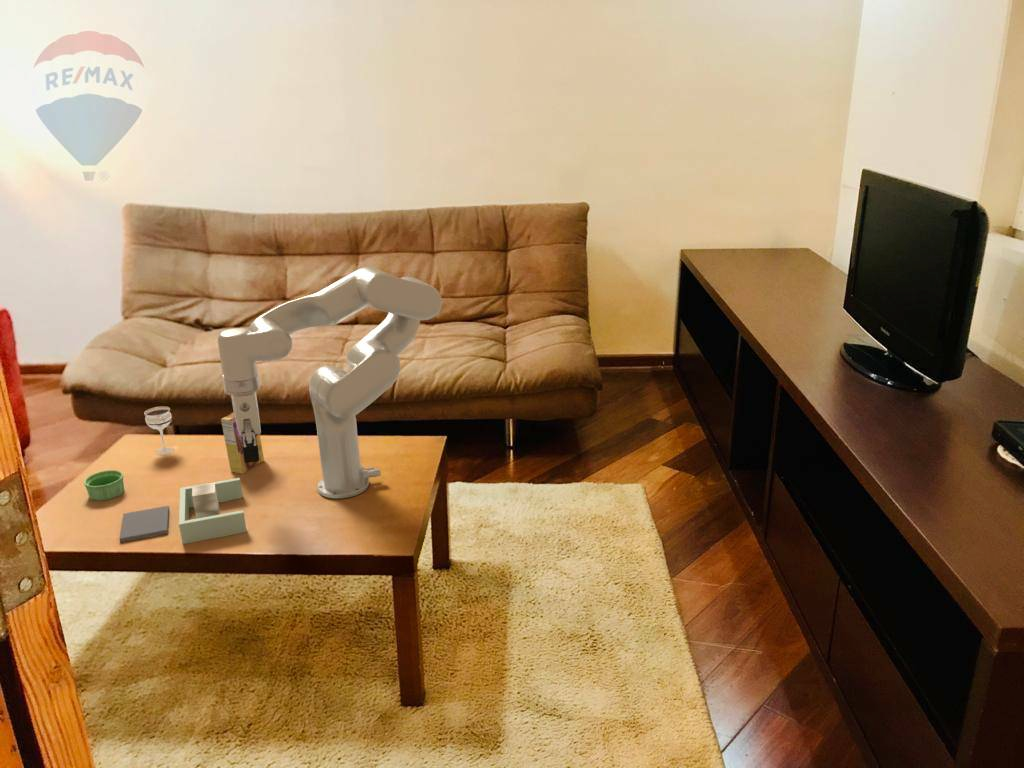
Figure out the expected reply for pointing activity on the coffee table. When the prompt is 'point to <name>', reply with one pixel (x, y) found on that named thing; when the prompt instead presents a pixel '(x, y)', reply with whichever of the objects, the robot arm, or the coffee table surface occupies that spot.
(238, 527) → the u-shaped bracket
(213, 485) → the beige block
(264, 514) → the coffee table surface
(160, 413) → the wineglass
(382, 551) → the coffee table surface
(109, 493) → the ramekin
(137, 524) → the charcoal mat
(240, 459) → the candy box
